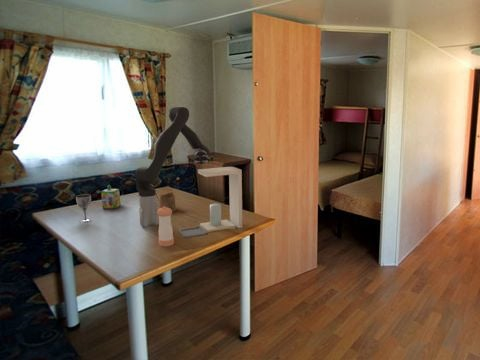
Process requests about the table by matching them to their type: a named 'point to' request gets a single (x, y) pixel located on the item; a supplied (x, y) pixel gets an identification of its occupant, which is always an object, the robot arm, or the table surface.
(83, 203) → the wine glass
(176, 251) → the table surface
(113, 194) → the decorated lidded jar
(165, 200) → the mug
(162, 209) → the pepper shaker
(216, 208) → the pale grey cylinder
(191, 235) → the tray
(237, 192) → the white c-shaped stand
